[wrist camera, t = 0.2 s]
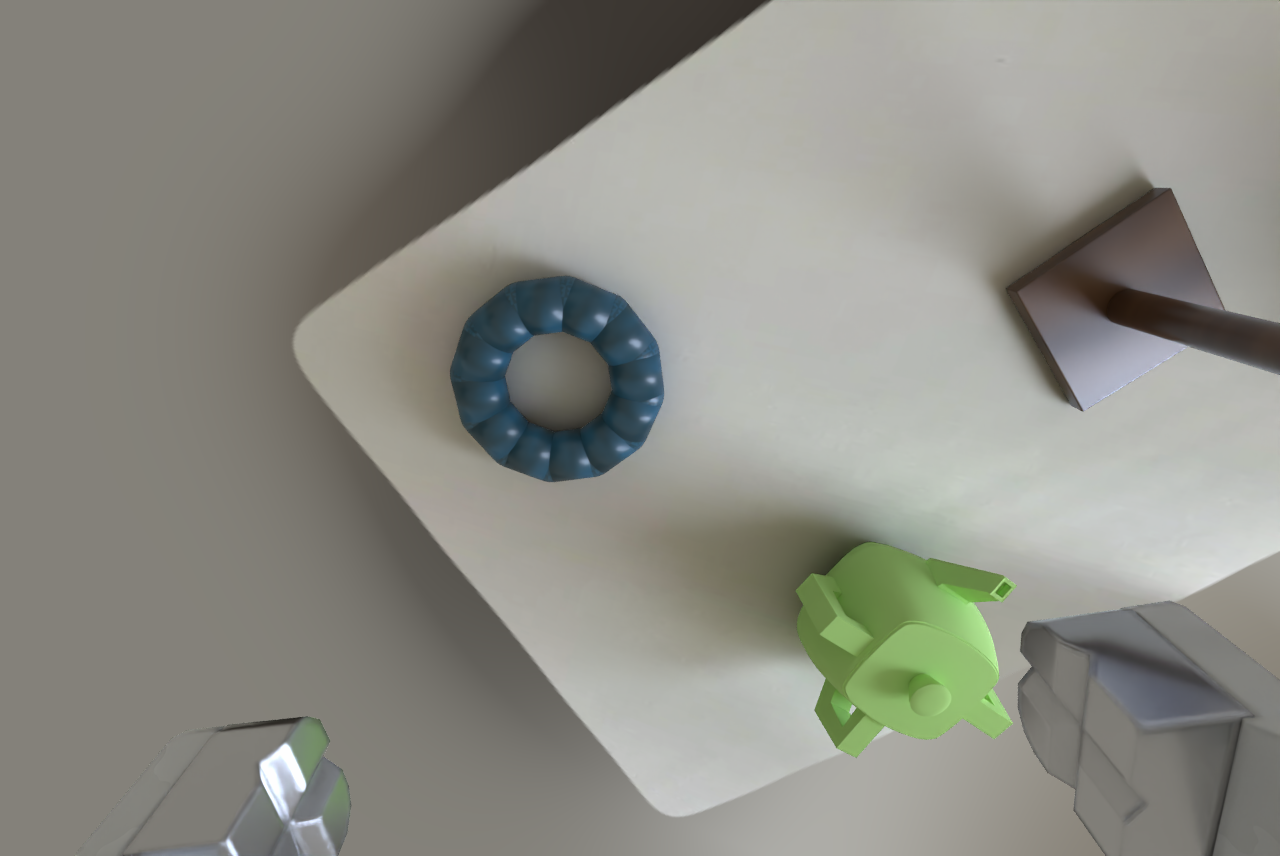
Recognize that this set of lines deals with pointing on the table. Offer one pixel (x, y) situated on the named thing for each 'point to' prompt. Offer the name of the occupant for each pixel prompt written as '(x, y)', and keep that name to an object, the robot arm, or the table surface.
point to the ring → (581, 316)
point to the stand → (1133, 304)
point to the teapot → (901, 646)
